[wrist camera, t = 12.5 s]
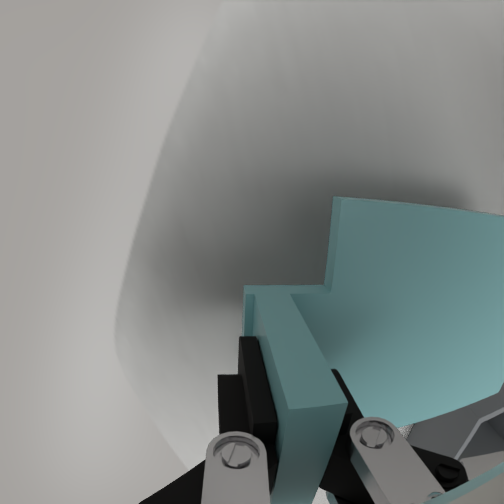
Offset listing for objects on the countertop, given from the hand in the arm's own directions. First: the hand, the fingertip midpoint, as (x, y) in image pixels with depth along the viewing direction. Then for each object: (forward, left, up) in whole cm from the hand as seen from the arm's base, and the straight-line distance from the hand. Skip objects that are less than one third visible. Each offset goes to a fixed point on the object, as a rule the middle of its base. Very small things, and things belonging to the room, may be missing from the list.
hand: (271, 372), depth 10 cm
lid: (-8, 0, -3) cm, 8 cm away
